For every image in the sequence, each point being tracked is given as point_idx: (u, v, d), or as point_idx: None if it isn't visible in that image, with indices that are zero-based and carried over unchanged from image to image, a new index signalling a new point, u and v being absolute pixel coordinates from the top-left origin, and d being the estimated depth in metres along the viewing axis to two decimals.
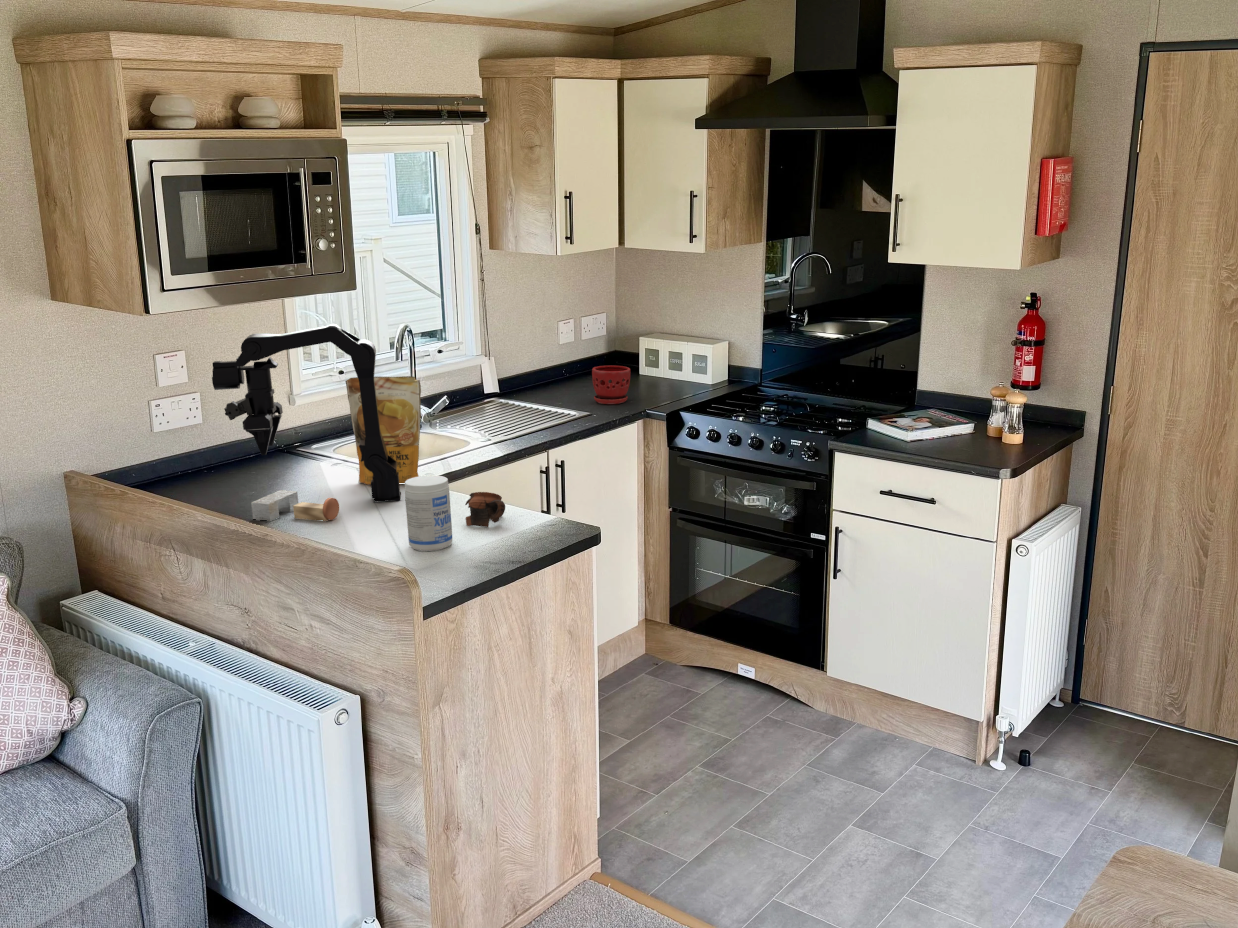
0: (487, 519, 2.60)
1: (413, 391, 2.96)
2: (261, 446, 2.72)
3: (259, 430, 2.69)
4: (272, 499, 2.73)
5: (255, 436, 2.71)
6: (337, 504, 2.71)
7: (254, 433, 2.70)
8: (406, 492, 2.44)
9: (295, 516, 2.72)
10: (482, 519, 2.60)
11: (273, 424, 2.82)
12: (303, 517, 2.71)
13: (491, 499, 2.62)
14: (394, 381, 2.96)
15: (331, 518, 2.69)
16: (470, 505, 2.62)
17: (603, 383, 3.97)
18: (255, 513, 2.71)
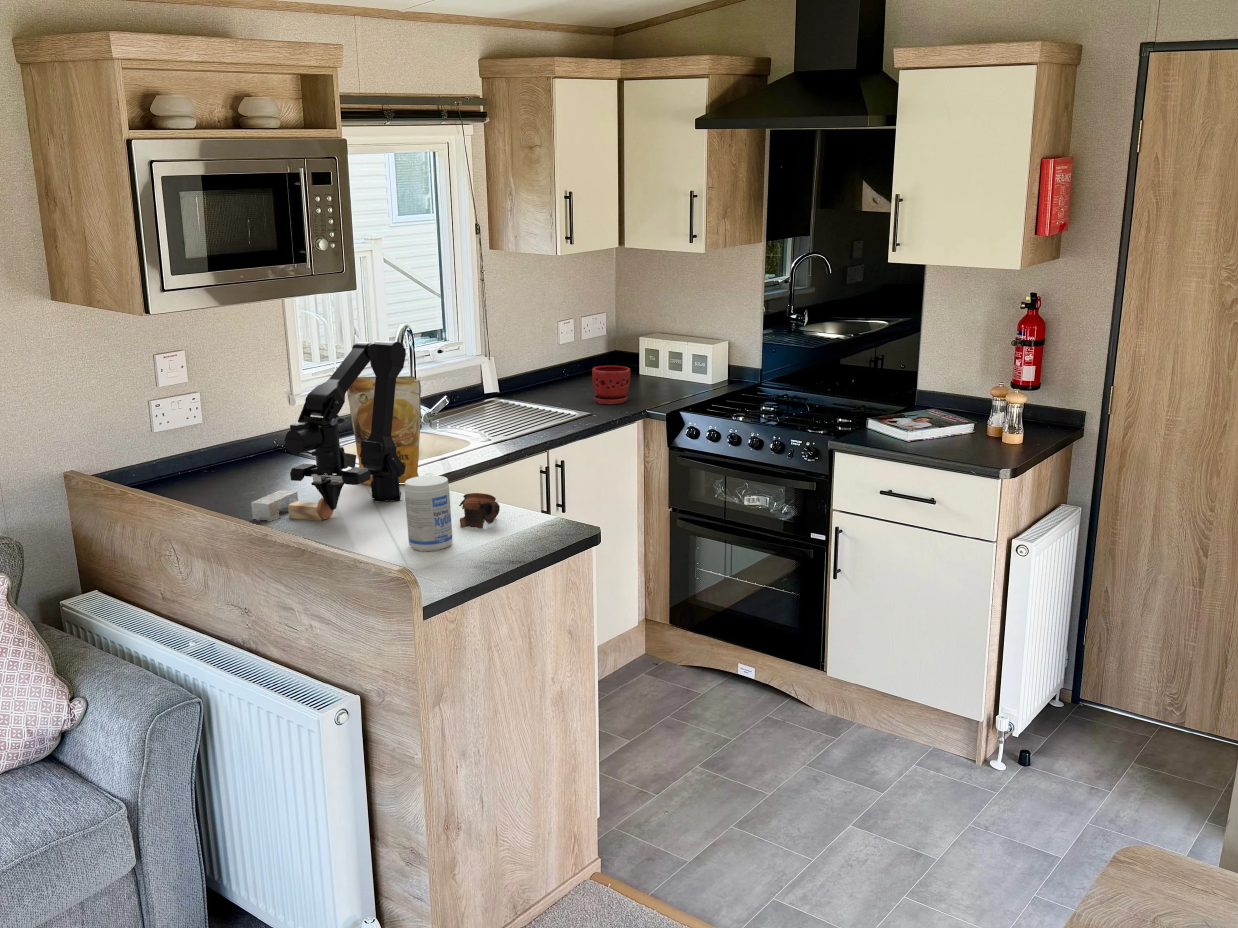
0: (481, 520, 2.60)
1: (413, 391, 2.96)
2: None
3: None
4: (272, 499, 2.73)
5: None
6: None
7: None
8: (406, 492, 2.44)
9: (290, 515, 2.72)
10: (476, 520, 2.60)
11: None
12: (298, 516, 2.72)
13: (485, 500, 2.61)
14: None
15: (326, 517, 2.70)
16: (464, 506, 2.61)
17: (603, 383, 3.97)
18: (255, 513, 2.71)
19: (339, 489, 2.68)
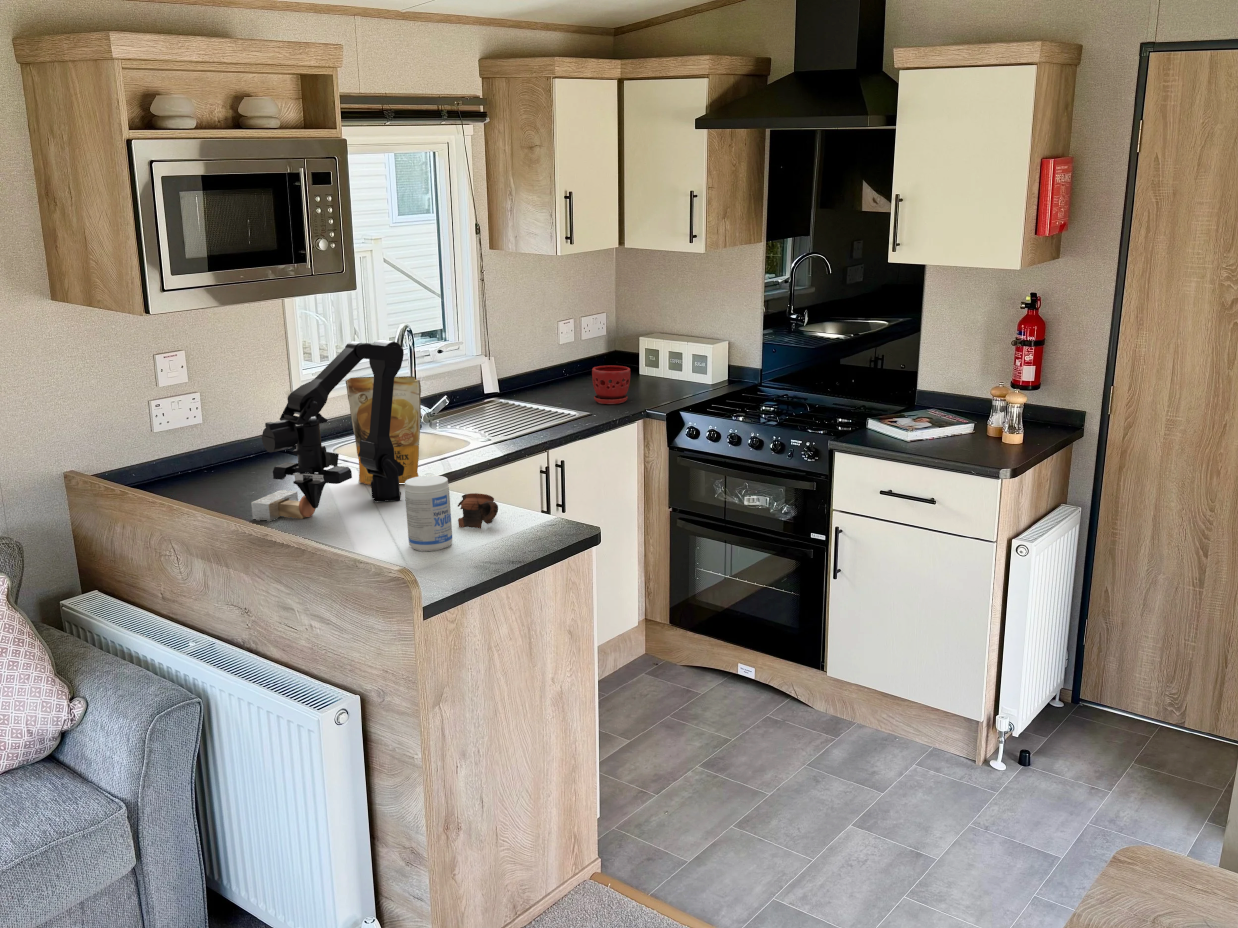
0: (480, 520, 2.59)
1: (413, 391, 2.96)
2: None
3: None
4: (272, 499, 2.73)
5: None
6: None
7: None
8: (406, 492, 2.44)
9: None
10: (475, 520, 2.59)
11: None
12: (280, 514, 2.74)
13: (484, 500, 2.61)
14: (394, 381, 2.96)
15: (307, 515, 2.72)
16: (463, 507, 2.61)
17: (603, 383, 3.97)
18: (255, 513, 2.71)
19: (321, 488, 2.70)
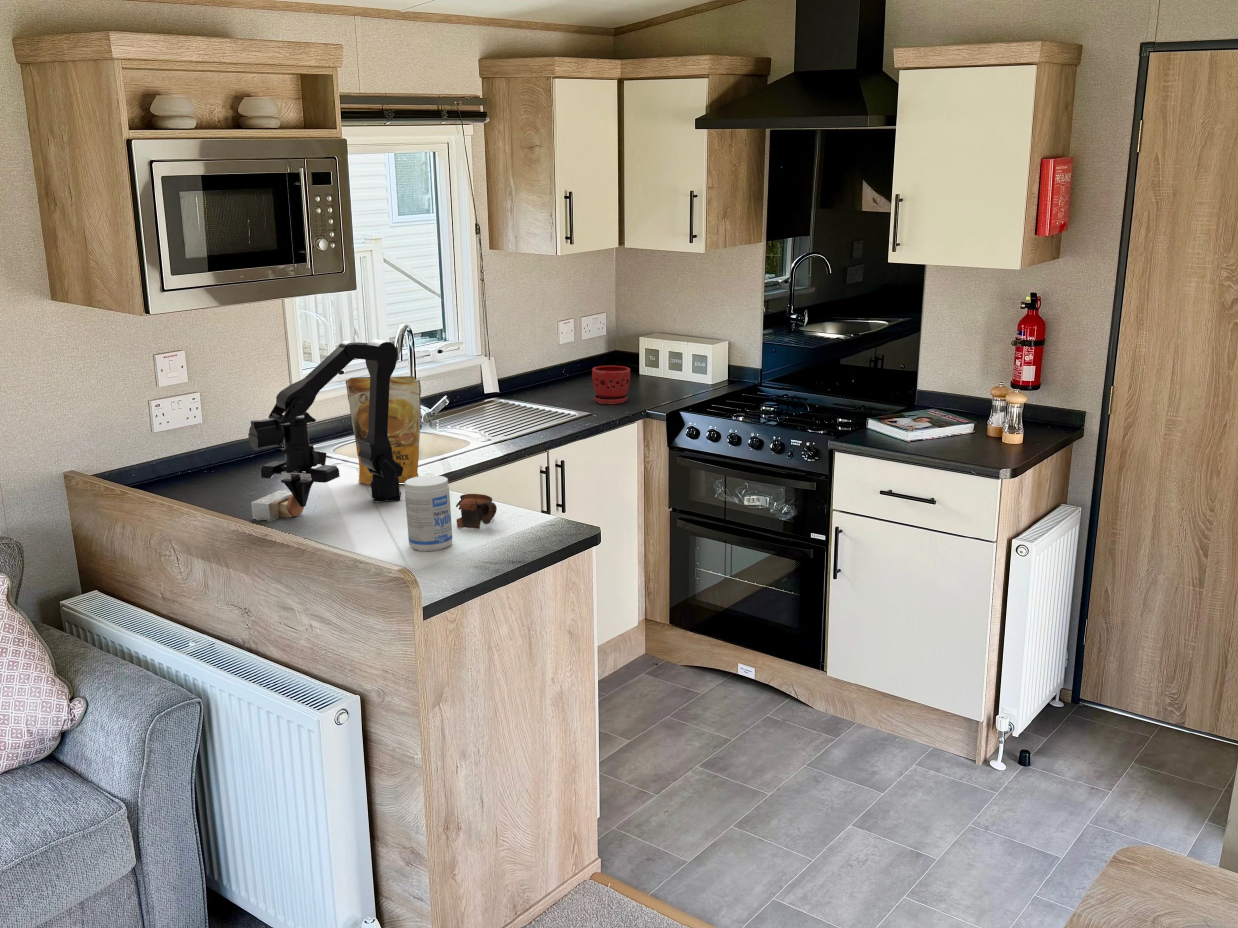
0: (478, 521, 2.59)
1: (413, 391, 2.96)
2: None
3: None
4: (272, 499, 2.73)
5: None
6: None
7: None
8: (406, 492, 2.44)
9: None
10: (473, 521, 2.59)
11: None
12: None
13: (482, 501, 2.61)
14: (394, 381, 2.96)
15: (296, 514, 2.73)
16: (461, 507, 2.60)
17: (603, 383, 3.97)
18: (255, 513, 2.71)
19: (309, 486, 2.71)
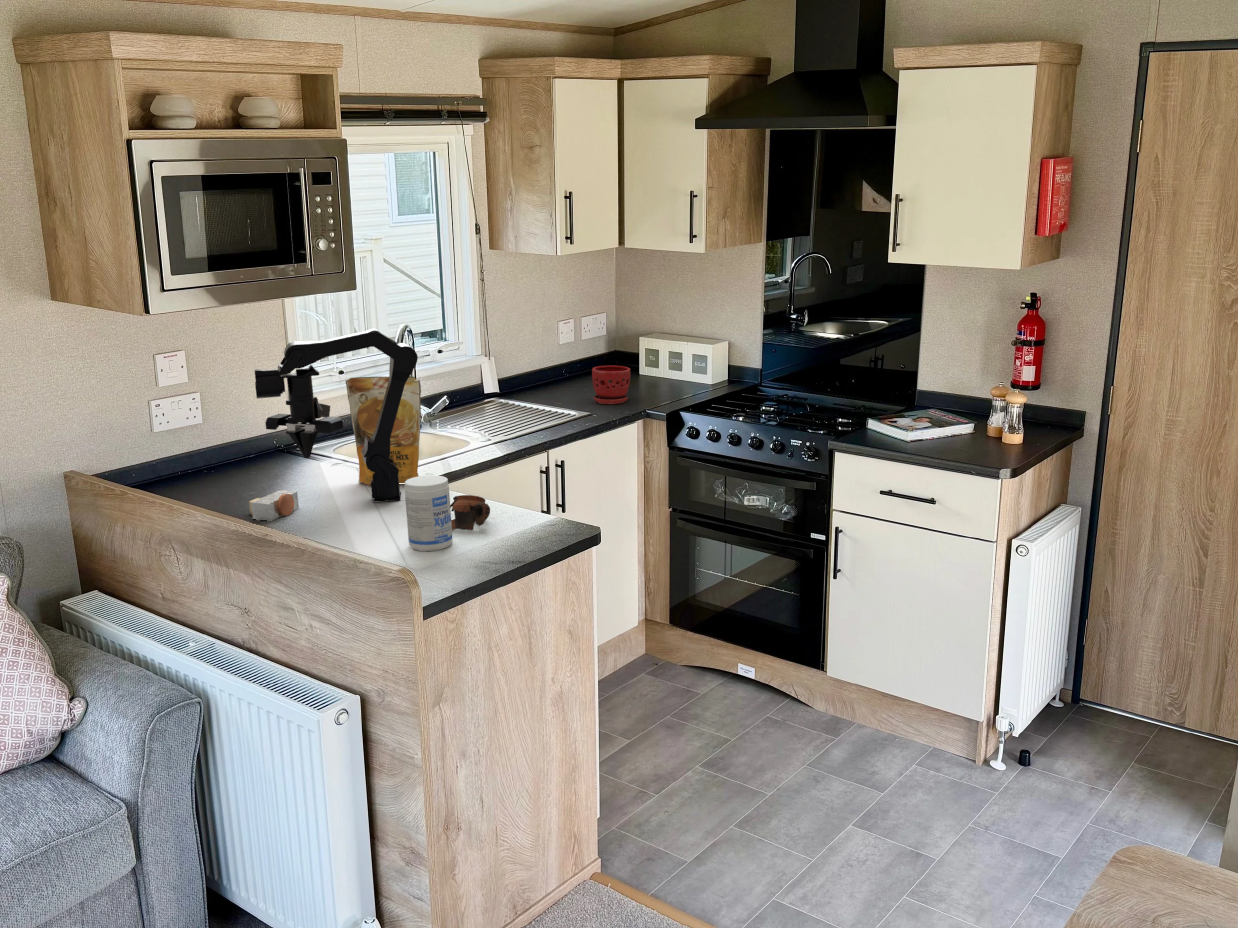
0: (472, 522, 2.58)
1: (413, 391, 2.96)
2: None
3: None
4: (272, 499, 2.73)
5: None
6: (292, 500, 2.76)
7: None
8: (406, 492, 2.44)
9: (251, 512, 2.77)
10: (467, 522, 2.58)
11: None
12: None
13: (475, 502, 2.60)
14: None
15: (286, 514, 2.74)
16: (454, 508, 2.59)
17: (603, 383, 3.97)
18: (255, 513, 2.71)
19: (313, 438, 2.76)
